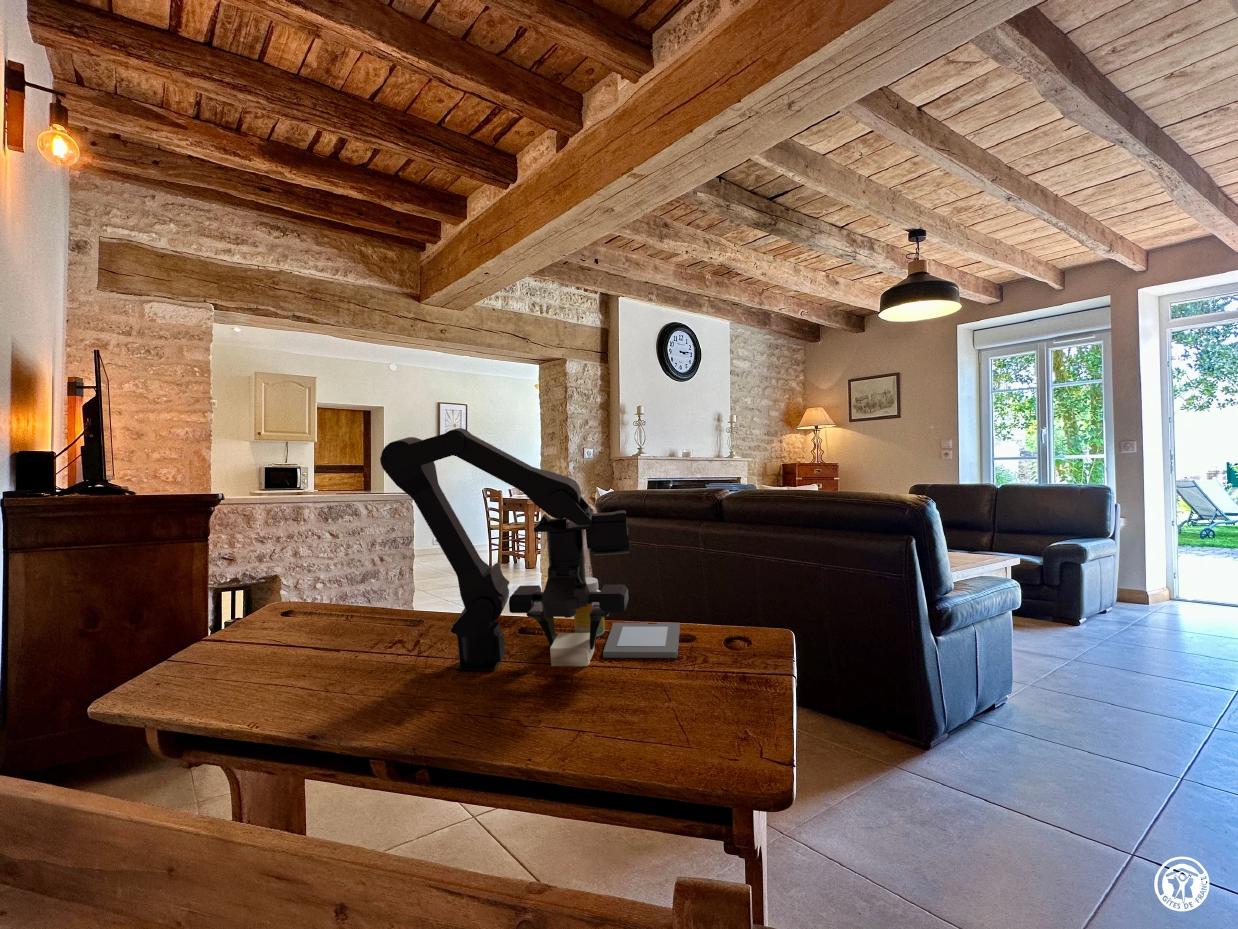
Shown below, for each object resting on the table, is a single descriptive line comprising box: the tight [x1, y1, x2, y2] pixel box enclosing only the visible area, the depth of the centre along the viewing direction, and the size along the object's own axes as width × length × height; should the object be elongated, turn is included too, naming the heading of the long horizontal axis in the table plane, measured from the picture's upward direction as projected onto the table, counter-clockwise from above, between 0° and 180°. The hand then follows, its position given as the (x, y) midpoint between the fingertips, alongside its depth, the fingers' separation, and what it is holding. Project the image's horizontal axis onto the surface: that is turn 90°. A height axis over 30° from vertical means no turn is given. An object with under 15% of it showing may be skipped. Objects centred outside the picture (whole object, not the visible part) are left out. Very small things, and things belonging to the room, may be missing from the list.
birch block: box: [549, 632, 595, 667], centre depth 102 cm, size 6×6×3 cm
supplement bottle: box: [573, 576, 606, 638], centre depth 112 cm, size 5×5×10 cm
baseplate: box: [602, 622, 681, 659], centre depth 107 cm, size 12×12×1 cm
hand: (572, 648), depth 102 cm, fingers closed on birch block, 6 cm apart
